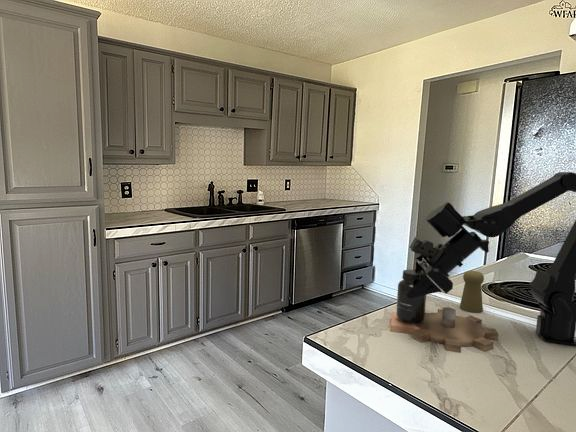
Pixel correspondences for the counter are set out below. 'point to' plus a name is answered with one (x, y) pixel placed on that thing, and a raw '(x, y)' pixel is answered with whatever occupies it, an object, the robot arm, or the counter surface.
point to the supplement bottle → (412, 307)
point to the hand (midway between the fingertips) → (406, 292)
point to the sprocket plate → (448, 330)
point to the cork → (472, 292)
